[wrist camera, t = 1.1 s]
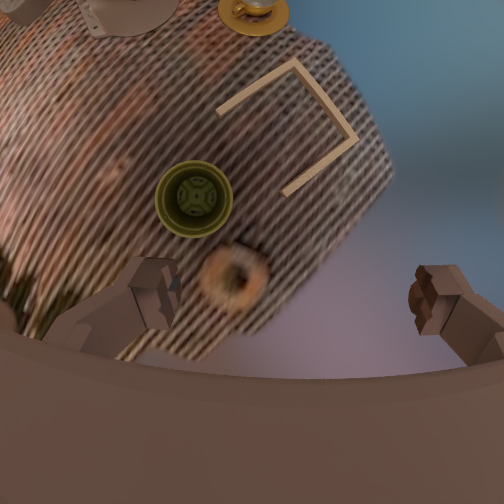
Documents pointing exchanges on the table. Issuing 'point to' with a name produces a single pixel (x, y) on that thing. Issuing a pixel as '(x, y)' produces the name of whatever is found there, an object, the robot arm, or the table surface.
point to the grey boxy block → (24, 10)
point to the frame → (322, 101)
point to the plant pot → (193, 199)
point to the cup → (255, 4)
